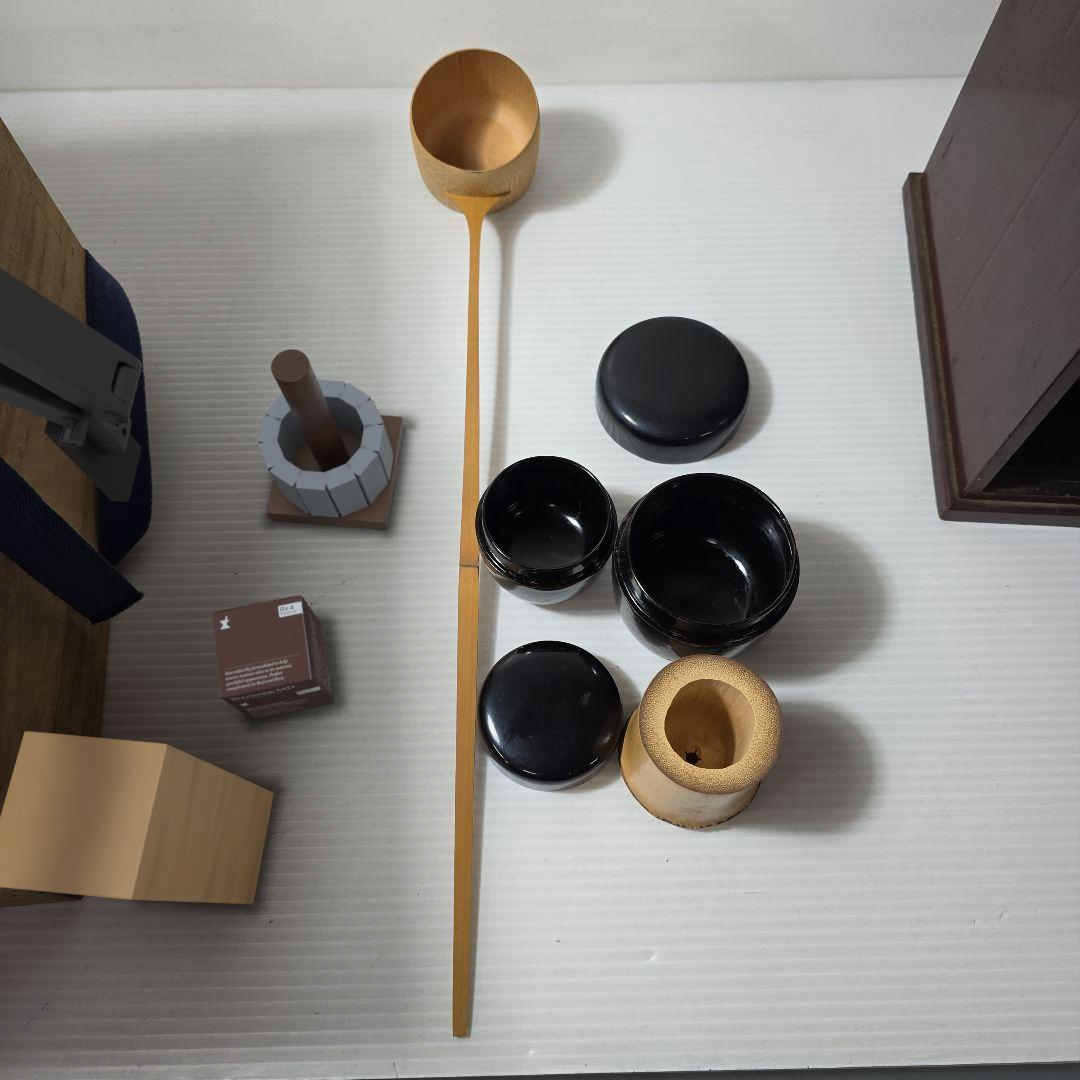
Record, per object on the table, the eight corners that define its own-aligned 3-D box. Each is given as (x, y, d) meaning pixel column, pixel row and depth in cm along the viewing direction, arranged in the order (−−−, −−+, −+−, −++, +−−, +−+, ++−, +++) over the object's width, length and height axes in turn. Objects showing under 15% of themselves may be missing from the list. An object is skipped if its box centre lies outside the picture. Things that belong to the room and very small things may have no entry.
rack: (271, 520, 73) (203, 423, 58) (292, 416, 76) (234, 300, 62) (387, 530, 72) (349, 434, 58) (404, 425, 76) (371, 310, 61)
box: (250, 721, 67) (216, 699, 60) (242, 640, 69) (209, 610, 62) (336, 704, 68) (312, 680, 61) (325, 623, 70) (301, 592, 63)
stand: (146, 894, 63) (-21, 885, 44) (171, 782, 66) (24, 730, 47) (253, 904, 63) (131, 900, 44) (274, 792, 65) (167, 743, 47)
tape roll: (266, 512, 71) (247, 483, 67) (288, 409, 75) (271, 375, 70) (383, 521, 71) (372, 494, 66) (400, 417, 74) (390, 384, 70)
